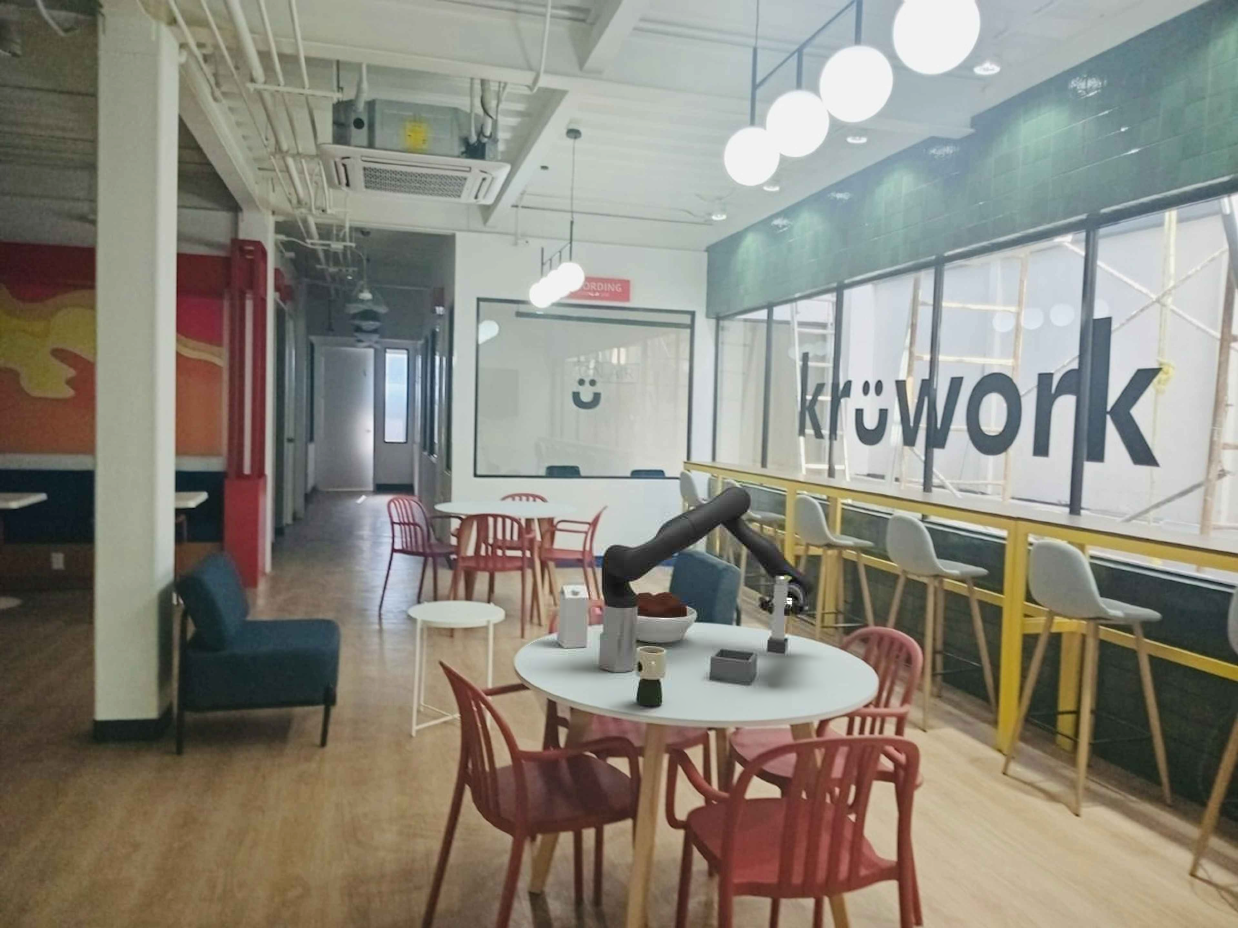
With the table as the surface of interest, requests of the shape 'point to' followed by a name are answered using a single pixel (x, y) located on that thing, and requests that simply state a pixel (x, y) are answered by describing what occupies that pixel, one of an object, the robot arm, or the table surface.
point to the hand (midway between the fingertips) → (778, 610)
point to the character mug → (650, 674)
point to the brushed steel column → (779, 617)
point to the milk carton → (573, 615)
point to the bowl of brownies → (662, 618)
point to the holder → (733, 666)
